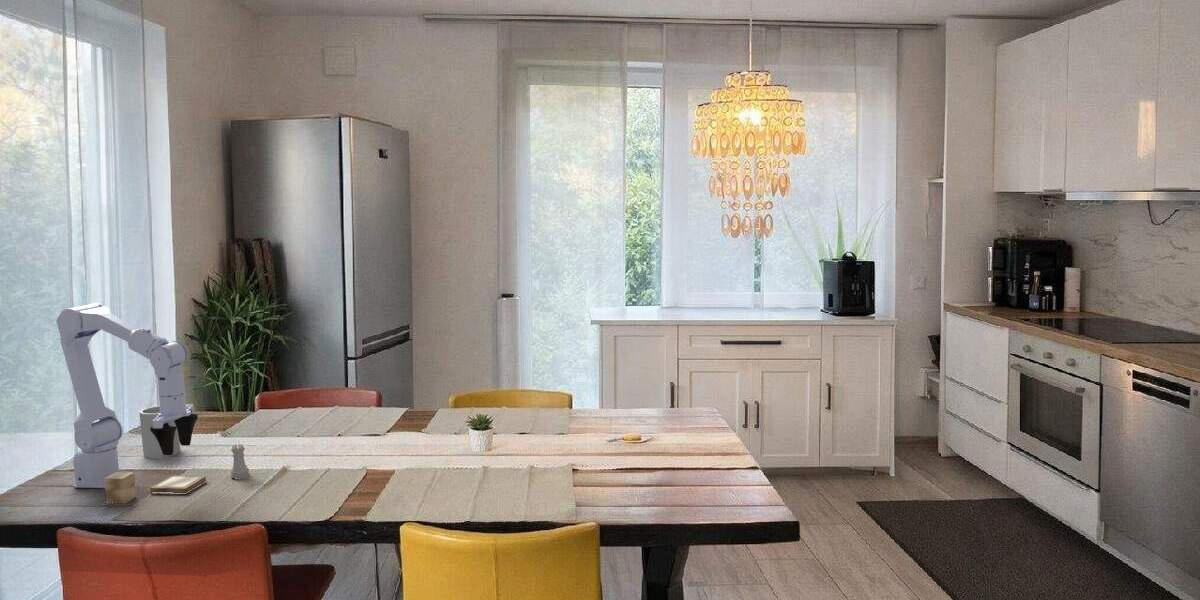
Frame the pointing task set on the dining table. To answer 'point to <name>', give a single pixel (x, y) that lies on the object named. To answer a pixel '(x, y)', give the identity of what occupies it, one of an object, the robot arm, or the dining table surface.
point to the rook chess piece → (239, 462)
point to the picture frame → (178, 484)
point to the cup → (148, 439)
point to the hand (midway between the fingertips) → (176, 449)
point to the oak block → (120, 487)
